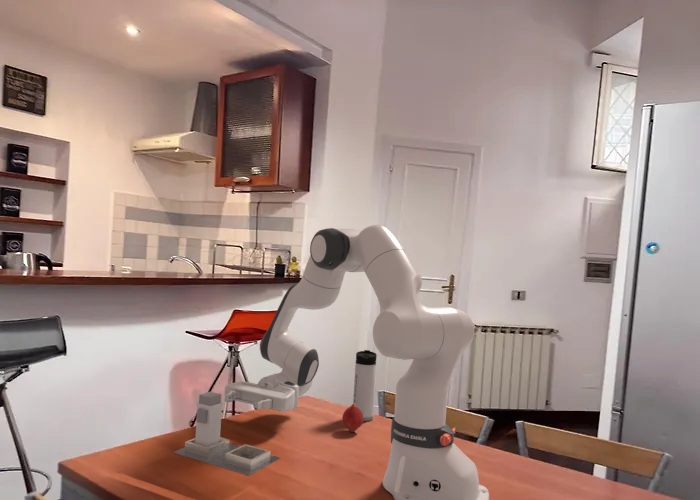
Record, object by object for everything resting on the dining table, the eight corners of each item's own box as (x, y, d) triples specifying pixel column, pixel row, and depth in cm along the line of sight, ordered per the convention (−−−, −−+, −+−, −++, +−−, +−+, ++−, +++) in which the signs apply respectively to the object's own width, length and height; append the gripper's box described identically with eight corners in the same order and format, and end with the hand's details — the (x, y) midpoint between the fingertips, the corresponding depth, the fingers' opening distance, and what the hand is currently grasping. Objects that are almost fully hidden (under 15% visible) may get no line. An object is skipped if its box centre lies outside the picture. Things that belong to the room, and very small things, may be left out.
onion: (338, 429, 150) (340, 400, 150) (356, 427, 152) (358, 399, 152) (346, 436, 144) (348, 406, 144) (365, 434, 147) (367, 405, 147)
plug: (219, 448, 128) (222, 394, 128) (205, 454, 123) (208, 398, 123) (206, 444, 129) (209, 391, 129) (192, 450, 125) (195, 395, 125)
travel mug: (373, 415, 164) (377, 350, 164) (372, 422, 158) (376, 354, 158) (353, 413, 165) (357, 349, 165) (351, 420, 158) (355, 353, 158)
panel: (280, 462, 124) (281, 449, 124) (248, 480, 114) (249, 466, 114) (207, 441, 134) (208, 429, 134) (172, 456, 124) (173, 443, 124)
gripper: (243, 373, 155) (210, 383, 142) (303, 386, 145) (274, 397, 133) (242, 395, 155) (209, 406, 142) (302, 409, 145) (272, 422, 133)
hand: (241, 402), depth 138 cm, fingers open, 8 cm apart
